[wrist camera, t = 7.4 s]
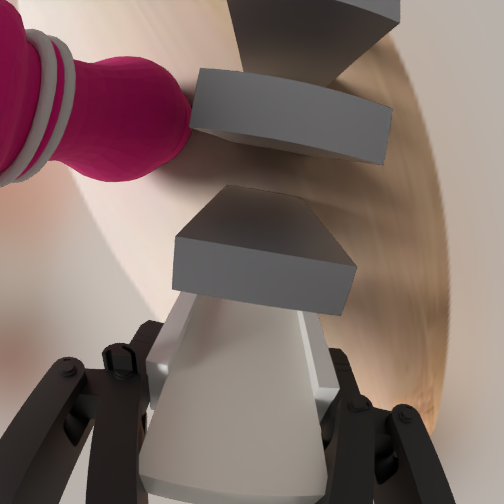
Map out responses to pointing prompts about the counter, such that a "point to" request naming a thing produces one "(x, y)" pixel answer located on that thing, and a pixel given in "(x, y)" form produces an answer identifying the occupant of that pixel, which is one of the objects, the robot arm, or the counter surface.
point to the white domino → (236, 412)
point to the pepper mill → (83, 109)
